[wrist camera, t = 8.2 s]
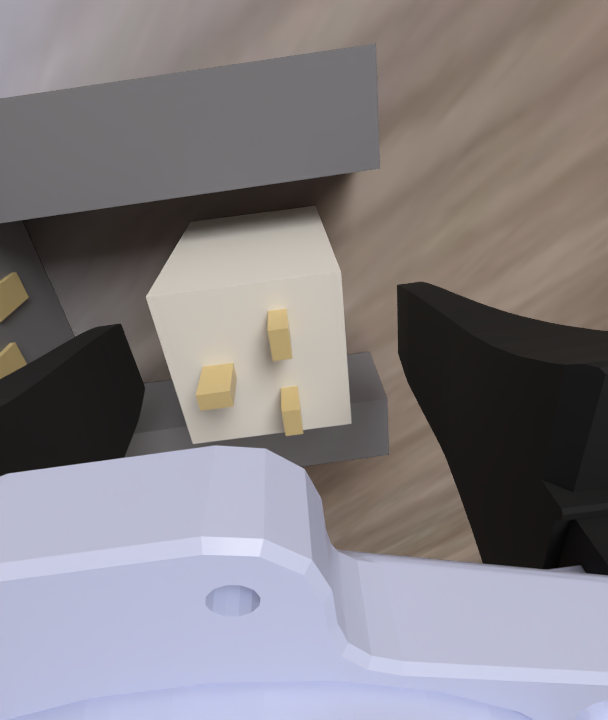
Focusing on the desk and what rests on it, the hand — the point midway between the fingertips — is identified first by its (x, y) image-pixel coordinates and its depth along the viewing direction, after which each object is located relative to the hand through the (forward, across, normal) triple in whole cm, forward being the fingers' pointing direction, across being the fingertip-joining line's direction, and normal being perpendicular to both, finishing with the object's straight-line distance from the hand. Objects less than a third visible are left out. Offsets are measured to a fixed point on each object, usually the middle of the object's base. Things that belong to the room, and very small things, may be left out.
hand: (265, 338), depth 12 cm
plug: (+4, 0, 0) cm, 4 cm away
